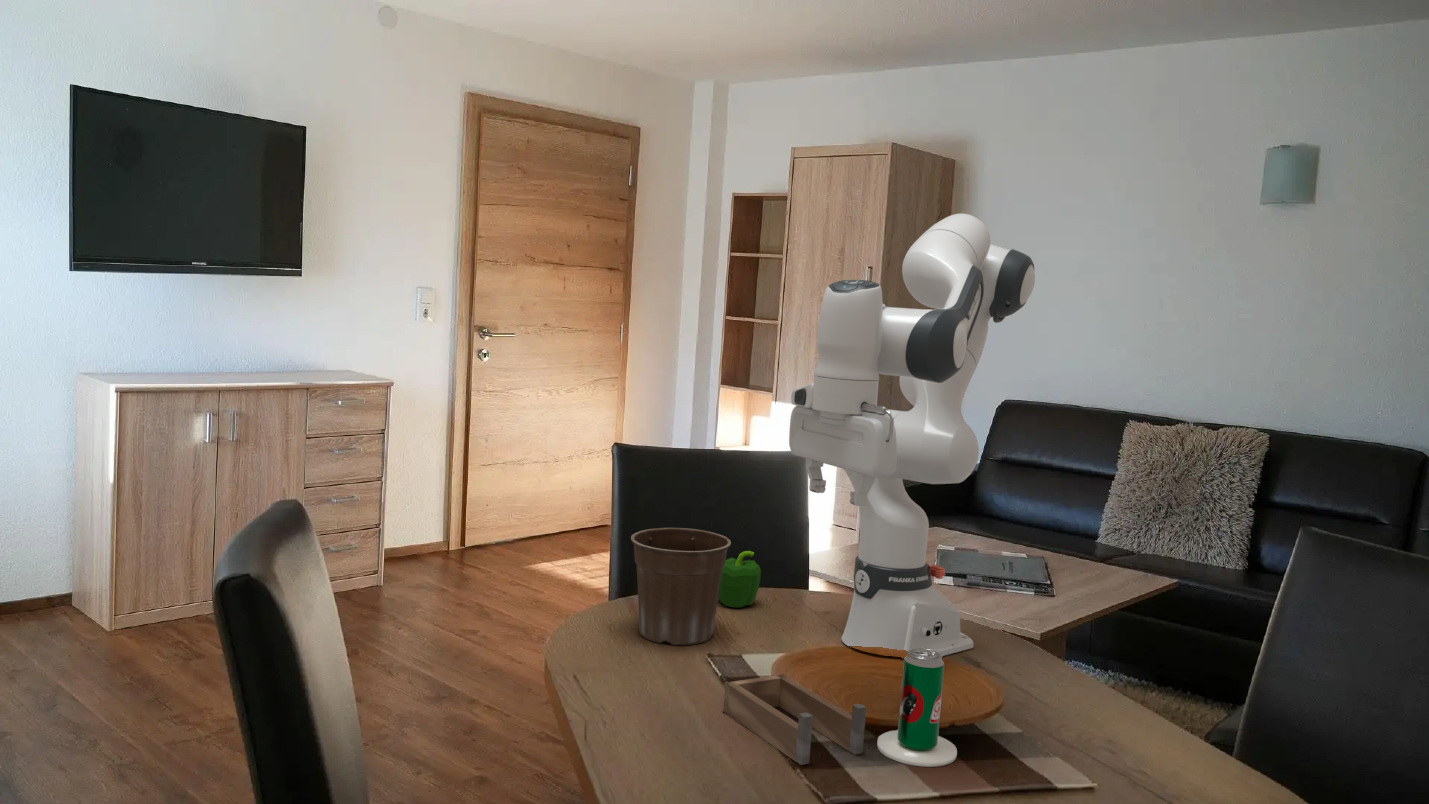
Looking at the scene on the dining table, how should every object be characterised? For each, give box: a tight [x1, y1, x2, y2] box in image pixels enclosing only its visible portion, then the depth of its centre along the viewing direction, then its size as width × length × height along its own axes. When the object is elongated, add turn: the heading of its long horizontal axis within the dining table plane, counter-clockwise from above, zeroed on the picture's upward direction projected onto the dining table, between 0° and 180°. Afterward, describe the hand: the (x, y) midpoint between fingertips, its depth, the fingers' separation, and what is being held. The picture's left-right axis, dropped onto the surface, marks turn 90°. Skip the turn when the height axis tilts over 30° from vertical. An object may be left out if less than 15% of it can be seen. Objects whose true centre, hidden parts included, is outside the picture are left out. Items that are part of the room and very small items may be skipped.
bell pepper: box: [718, 550, 762, 608], centre depth 202 cm, size 8×8×10 cm
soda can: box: [897, 648, 945, 751], centre depth 141 cm, size 5×5×12 cm
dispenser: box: [722, 674, 867, 766], centre depth 145 cm, size 9×18×6 cm, turn 30°
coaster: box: [876, 729, 958, 768], centre depth 142 cm, size 10×10×1 cm
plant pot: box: [630, 527, 732, 646], centre depth 182 cm, size 16×16×16 cm
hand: (837, 498), depth 153 cm, fingers open, 8 cm apart
